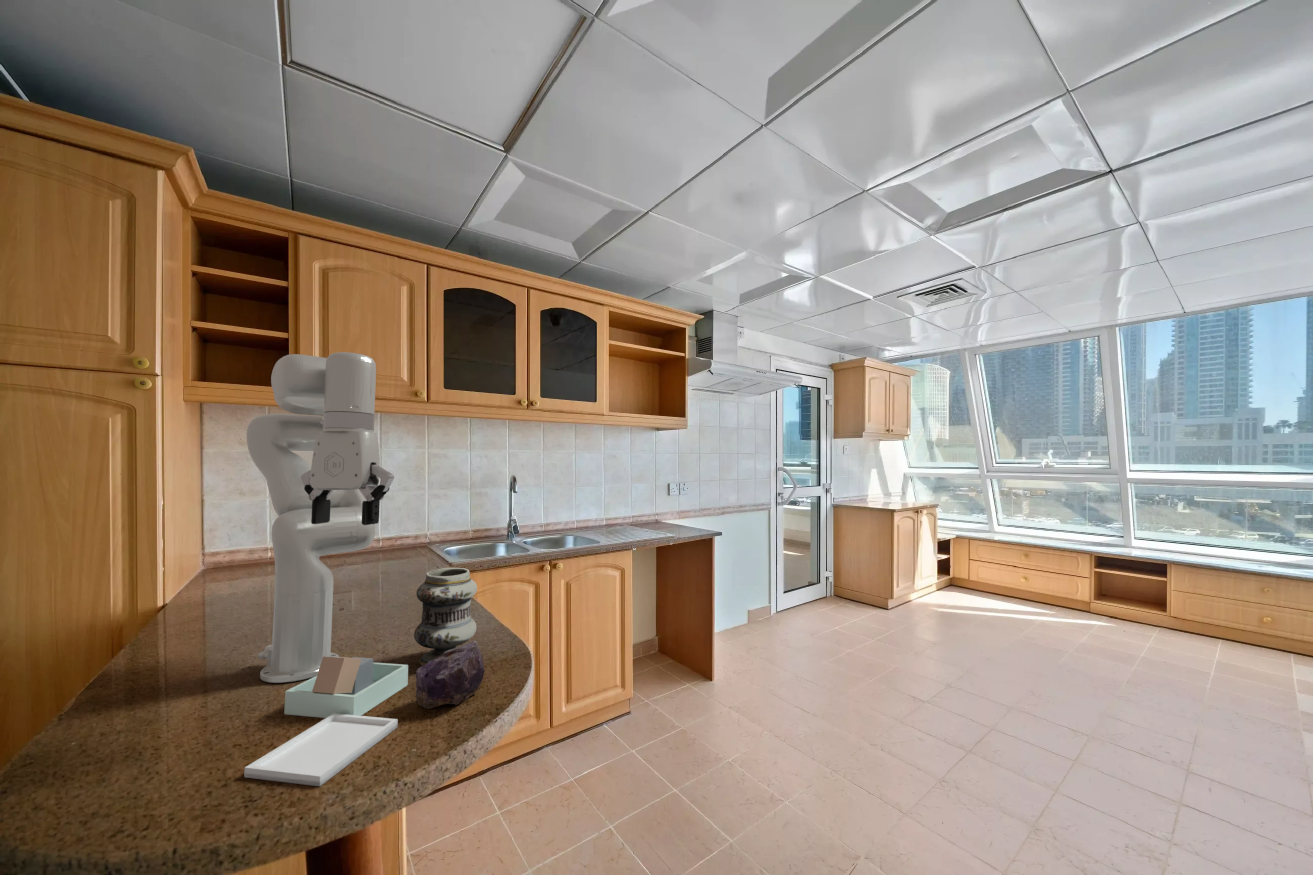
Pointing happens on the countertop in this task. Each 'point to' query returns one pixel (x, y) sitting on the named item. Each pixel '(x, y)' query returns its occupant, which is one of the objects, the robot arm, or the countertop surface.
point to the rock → (450, 677)
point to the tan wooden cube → (336, 675)
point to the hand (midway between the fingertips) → (345, 523)
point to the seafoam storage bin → (326, 704)
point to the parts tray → (321, 750)
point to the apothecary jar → (445, 611)
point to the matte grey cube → (363, 676)
